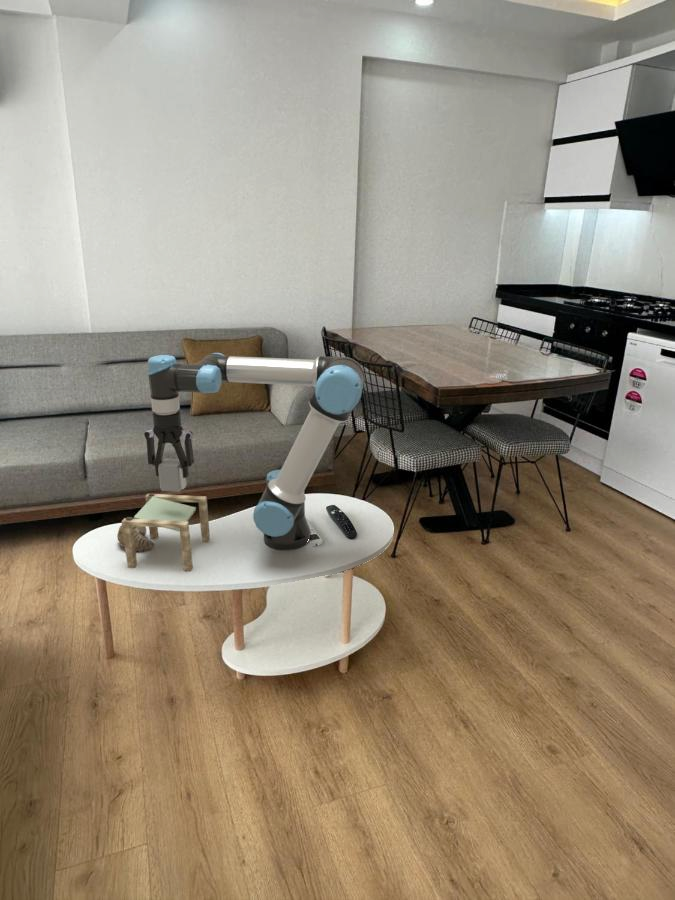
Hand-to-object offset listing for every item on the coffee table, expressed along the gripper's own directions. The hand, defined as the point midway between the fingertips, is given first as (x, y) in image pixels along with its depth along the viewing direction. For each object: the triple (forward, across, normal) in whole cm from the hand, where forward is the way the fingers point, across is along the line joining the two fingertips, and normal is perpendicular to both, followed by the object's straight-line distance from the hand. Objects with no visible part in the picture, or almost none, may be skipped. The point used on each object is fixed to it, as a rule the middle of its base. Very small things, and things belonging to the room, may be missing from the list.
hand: (173, 486), depth 178 cm
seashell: (+23, +16, -5) cm, 28 cm away
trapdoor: (+12, +4, 0) cm, 13 cm away
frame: (+23, +3, 0) cm, 23 cm away
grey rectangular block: (-4, 0, 0) cm, 4 cm away
